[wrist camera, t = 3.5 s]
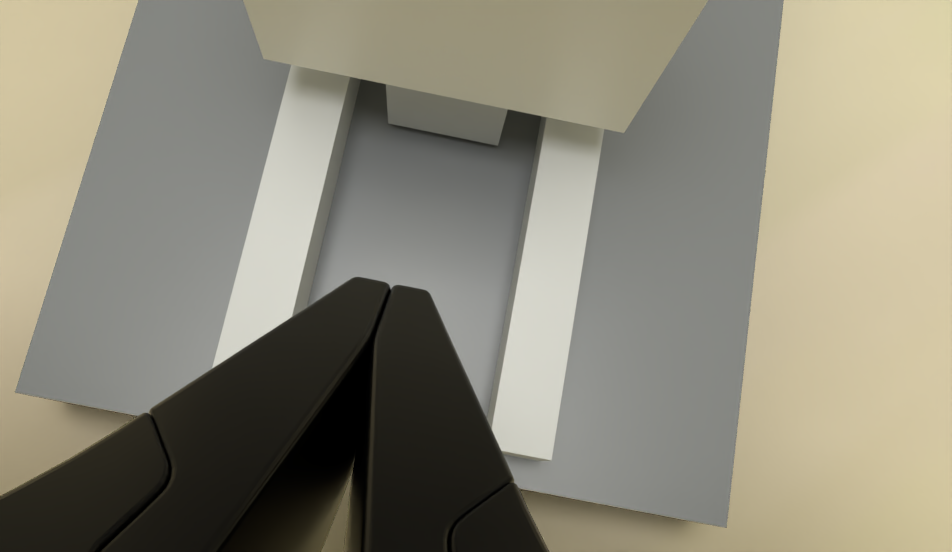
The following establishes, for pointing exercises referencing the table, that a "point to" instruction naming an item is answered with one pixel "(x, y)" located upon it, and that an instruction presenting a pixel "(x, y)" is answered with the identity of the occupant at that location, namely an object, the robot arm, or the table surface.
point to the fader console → (433, 245)
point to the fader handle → (484, 55)
